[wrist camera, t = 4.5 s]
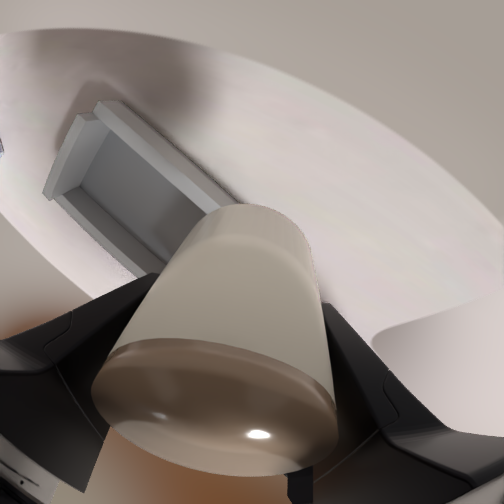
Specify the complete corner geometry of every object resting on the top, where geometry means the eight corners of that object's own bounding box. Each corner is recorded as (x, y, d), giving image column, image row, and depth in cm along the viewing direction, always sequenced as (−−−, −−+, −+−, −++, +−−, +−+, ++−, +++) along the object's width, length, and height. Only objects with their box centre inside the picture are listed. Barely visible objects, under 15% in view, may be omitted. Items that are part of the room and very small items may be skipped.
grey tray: (283, 243, 21) (283, 275, 17) (210, 307, 25) (198, 342, 21) (120, 100, 17) (84, 100, 13) (72, 186, 21) (38, 202, 16)
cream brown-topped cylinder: (327, 218, 9) (389, 392, 3) (295, 325, 12) (296, 482, 6) (186, 193, 10) (57, 327, 3) (183, 304, 12) (121, 447, 6)
